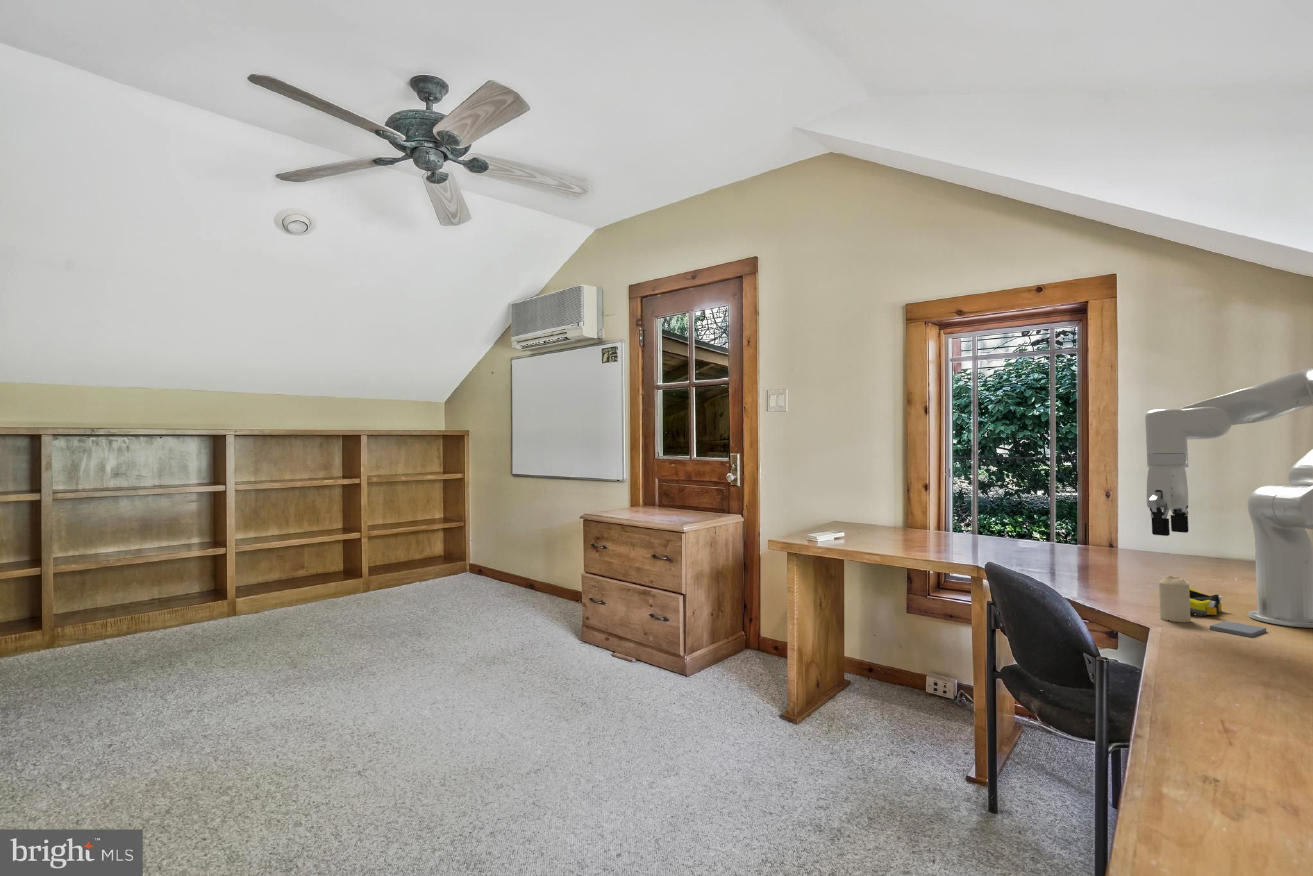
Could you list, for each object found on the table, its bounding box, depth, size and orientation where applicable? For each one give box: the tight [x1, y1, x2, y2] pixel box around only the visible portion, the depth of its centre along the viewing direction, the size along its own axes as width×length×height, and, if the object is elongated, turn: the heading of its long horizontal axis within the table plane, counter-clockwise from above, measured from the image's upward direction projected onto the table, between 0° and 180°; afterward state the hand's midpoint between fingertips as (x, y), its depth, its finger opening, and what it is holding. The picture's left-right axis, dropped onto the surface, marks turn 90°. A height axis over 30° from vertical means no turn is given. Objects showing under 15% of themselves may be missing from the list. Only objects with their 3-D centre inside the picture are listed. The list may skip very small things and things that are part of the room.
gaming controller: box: [1189, 586, 1223, 616], centre depth 155 cm, size 15×6×10 cm
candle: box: [1158, 575, 1191, 623], centre depth 147 cm, size 6×6×10 cm
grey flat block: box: [1209, 620, 1267, 638], centre depth 137 cm, size 8×7×1 cm
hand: (1170, 533), depth 147 cm, fingers open, 9 cm apart
